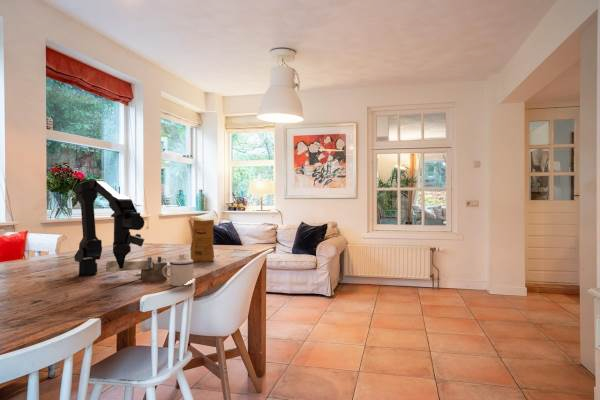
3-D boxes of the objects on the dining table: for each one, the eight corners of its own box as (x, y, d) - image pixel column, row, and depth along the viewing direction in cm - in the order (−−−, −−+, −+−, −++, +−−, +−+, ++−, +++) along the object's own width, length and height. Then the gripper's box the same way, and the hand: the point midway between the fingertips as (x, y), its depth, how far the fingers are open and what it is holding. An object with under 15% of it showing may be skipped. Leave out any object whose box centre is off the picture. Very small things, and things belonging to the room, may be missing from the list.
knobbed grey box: (142, 281, 156) (142, 259, 156) (140, 277, 164) (141, 256, 164) (166, 279, 160) (167, 257, 160) (164, 275, 168) (164, 254, 168)
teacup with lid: (196, 281, 157) (196, 252, 157) (189, 286, 148) (190, 256, 148) (166, 281, 157) (166, 252, 157) (158, 286, 148) (158, 255, 148)
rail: (105, 271, 152) (106, 259, 152) (106, 269, 156) (106, 258, 156) (151, 269, 160) (151, 257, 160) (150, 267, 164) (150, 255, 164)
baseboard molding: (130, 277, 167) (158, 277, 169) (130, 270, 167) (159, 270, 169) (150, 264, 198) (174, 264, 199) (150, 258, 198) (174, 258, 199)
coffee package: (191, 259, 212) (191, 219, 212) (214, 259, 214) (215, 219, 214) (189, 262, 202) (189, 220, 202) (213, 262, 204) (214, 220, 204)
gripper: (144, 230, 152) (144, 270, 152) (141, 226, 169) (141, 262, 169) (113, 231, 147) (112, 272, 147) (113, 227, 164) (112, 264, 164)
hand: (121, 267), depth 157 cm, fingers closed on rail, 4 cm apart
